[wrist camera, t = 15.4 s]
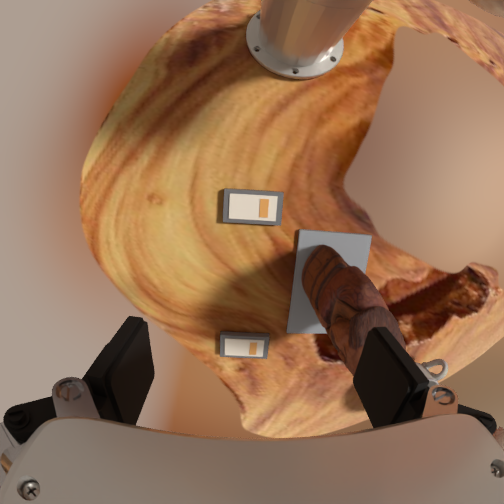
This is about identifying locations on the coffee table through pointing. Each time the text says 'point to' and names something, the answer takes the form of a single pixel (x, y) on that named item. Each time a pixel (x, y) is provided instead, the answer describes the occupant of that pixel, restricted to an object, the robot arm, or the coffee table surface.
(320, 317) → the wooden figurine
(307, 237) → the mat
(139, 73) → the coffee table surface
